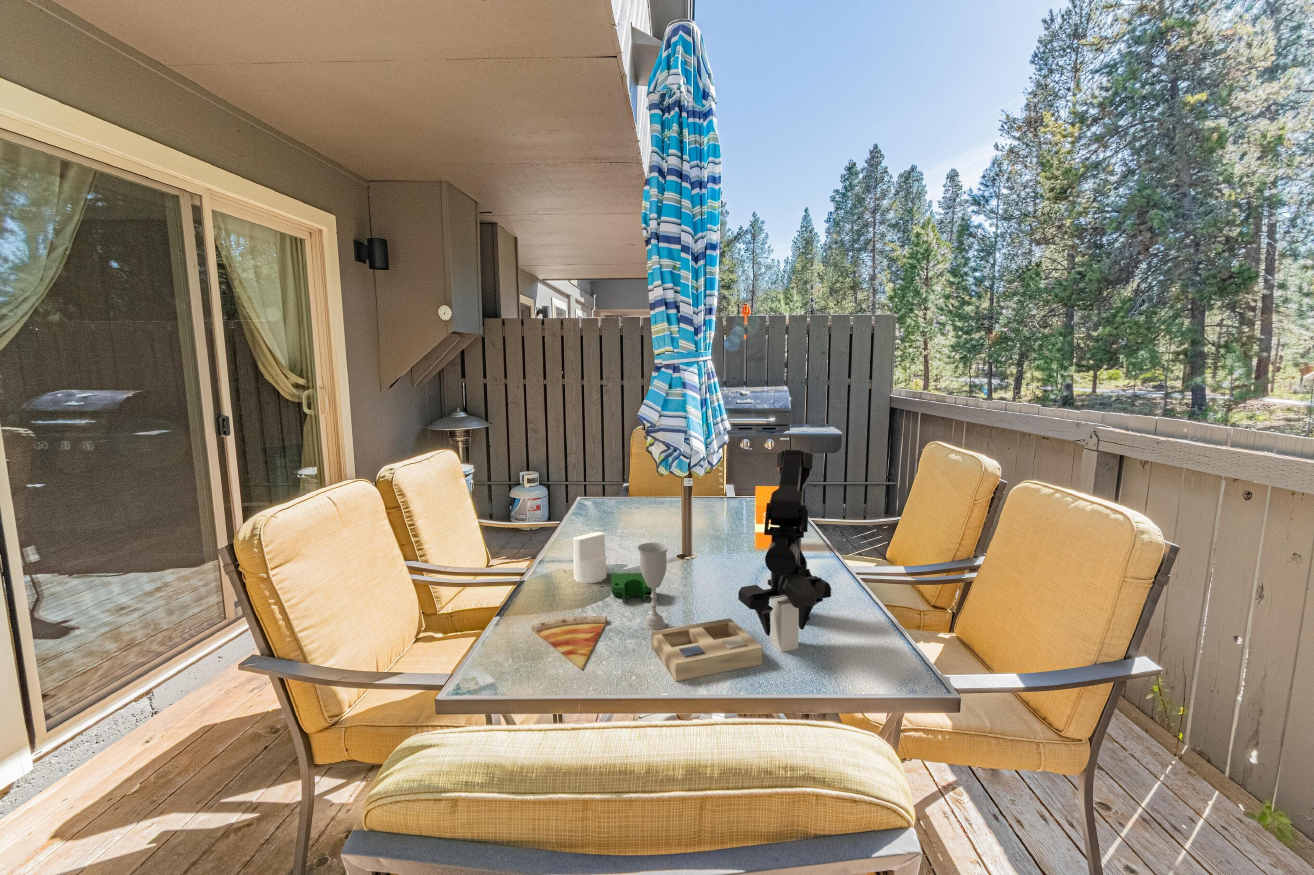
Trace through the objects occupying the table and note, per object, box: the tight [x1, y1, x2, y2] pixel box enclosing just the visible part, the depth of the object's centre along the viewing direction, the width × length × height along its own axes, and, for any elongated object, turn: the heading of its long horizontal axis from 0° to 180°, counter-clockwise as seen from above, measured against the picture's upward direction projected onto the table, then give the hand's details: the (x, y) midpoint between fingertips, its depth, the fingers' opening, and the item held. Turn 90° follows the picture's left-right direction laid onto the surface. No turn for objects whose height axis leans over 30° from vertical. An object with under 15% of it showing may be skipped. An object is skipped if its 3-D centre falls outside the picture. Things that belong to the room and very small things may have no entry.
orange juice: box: [754, 485, 779, 550], centre depth 184 cm, size 8×9×20 cm
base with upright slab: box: [572, 531, 607, 584], centre depth 160 cm, size 9×9×12 cm
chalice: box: [637, 542, 669, 631], centre depth 129 cm, size 7×7×18 cm
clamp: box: [610, 572, 652, 604], centre depth 145 cm, size 12×6×9 cm, turn 87°
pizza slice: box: [531, 615, 608, 671], centre depth 122 cm, size 16×22×2 cm
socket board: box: [650, 617, 763, 682], centre depth 115 cm, size 14×18×4 cm
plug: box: [770, 596, 799, 653], centre depth 118 cm, size 4×4×10 cm
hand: (784, 631), depth 119 cm, fingers open, 8 cm apart
